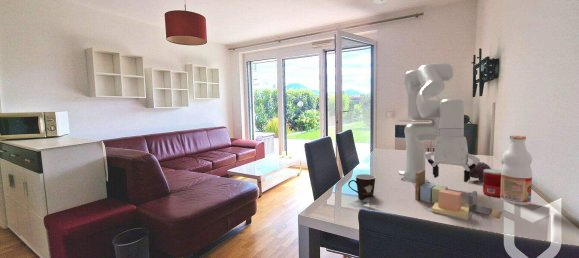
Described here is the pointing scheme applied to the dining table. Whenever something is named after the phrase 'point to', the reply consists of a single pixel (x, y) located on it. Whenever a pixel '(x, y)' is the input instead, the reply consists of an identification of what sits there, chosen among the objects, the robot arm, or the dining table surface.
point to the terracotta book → (449, 200)
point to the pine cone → (478, 170)
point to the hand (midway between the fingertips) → (450, 179)
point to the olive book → (437, 192)
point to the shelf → (420, 181)
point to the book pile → (451, 212)
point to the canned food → (492, 182)
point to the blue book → (426, 192)
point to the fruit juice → (516, 173)
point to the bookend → (474, 207)
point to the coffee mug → (364, 185)
